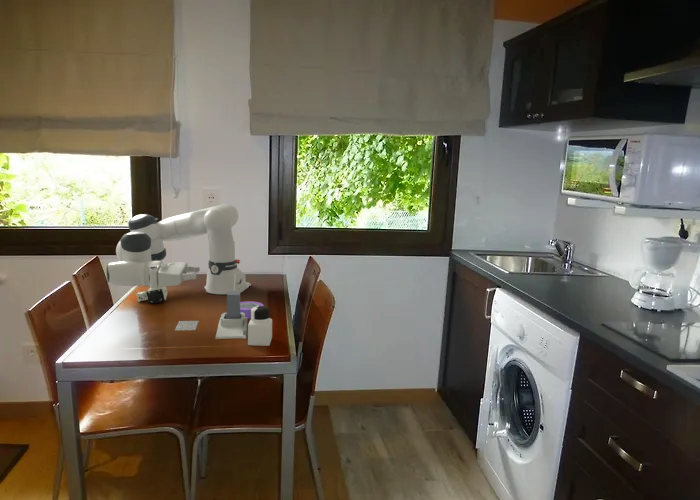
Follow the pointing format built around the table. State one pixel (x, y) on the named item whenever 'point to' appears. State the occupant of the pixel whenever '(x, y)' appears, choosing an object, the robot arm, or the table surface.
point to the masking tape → (248, 307)
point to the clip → (233, 305)
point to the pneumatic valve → (153, 295)
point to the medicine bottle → (260, 327)
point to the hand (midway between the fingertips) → (197, 272)
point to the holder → (232, 327)
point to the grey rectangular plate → (186, 325)
